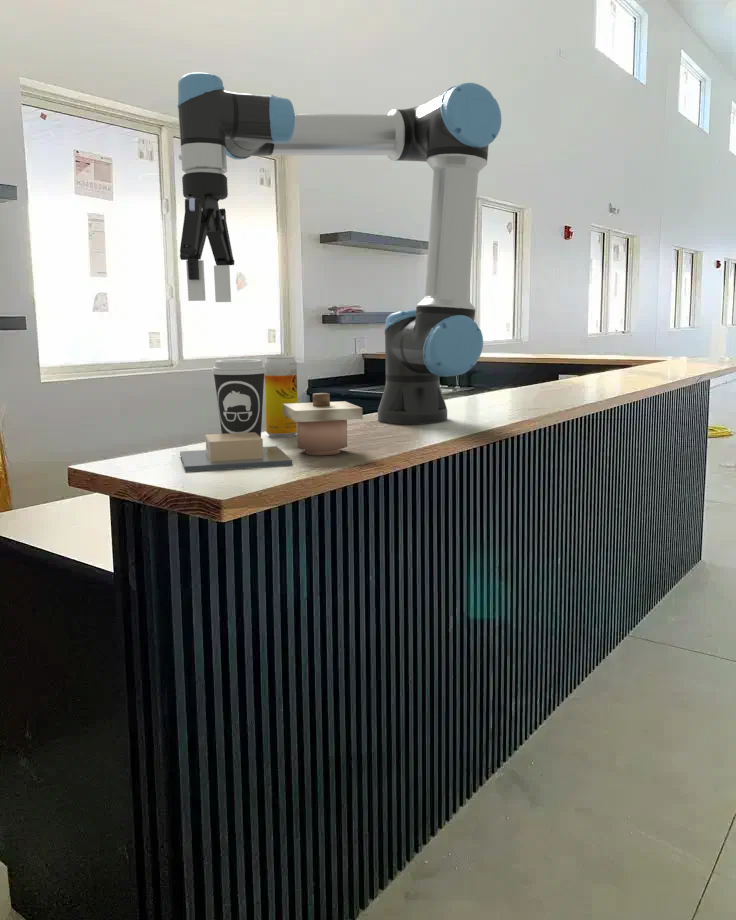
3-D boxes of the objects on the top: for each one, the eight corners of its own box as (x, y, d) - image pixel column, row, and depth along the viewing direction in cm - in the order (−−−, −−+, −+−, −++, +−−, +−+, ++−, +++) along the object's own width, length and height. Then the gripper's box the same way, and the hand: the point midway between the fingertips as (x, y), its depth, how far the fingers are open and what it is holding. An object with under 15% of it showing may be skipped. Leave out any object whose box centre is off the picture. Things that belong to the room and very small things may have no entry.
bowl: (340, 446, 137) (339, 412, 135) (353, 454, 129) (352, 418, 128) (292, 449, 134) (291, 414, 133) (302, 457, 126) (301, 420, 125)
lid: (345, 411, 137) (344, 389, 136) (362, 419, 127) (362, 395, 126) (282, 414, 134) (282, 392, 133) (295, 422, 124) (294, 398, 123)
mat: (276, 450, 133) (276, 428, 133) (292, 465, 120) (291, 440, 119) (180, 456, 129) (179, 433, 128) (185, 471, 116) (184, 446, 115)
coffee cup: (280, 445, 139) (277, 360, 136) (235, 452, 132) (232, 362, 129) (247, 440, 145) (244, 358, 142) (203, 446, 138) (199, 361, 136)
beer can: (293, 438, 147) (290, 357, 144) (262, 437, 148) (259, 357, 145) (302, 433, 153) (300, 356, 150) (272, 433, 154) (269, 356, 151)
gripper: (208, 186, 146) (214, 302, 150) (153, 161, 122) (161, 300, 126) (247, 185, 145) (252, 302, 149) (199, 159, 121) (206, 299, 125)
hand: (210, 301), depth 137 cm, fingers open, 13 cm apart
